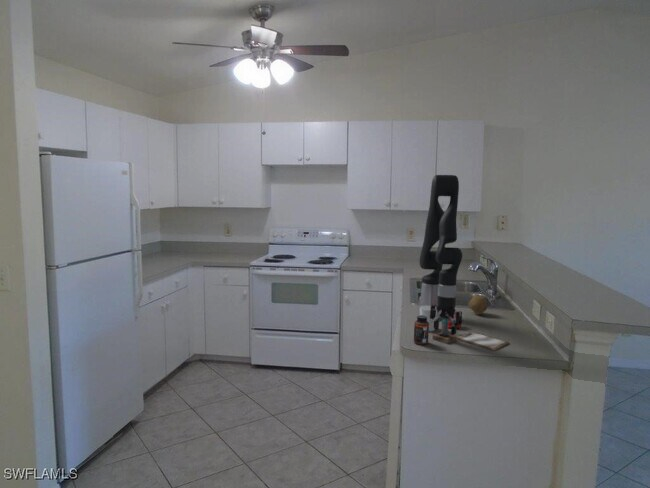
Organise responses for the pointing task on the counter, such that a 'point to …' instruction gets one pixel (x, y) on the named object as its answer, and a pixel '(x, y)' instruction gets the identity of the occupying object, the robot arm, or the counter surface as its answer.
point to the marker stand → (444, 338)
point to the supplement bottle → (421, 330)
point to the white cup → (426, 312)
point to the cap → (451, 324)
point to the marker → (444, 327)
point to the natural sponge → (478, 304)
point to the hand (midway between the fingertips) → (444, 332)
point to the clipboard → (482, 340)
